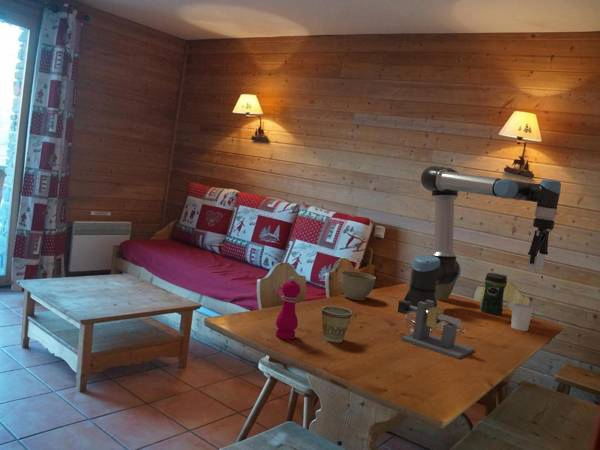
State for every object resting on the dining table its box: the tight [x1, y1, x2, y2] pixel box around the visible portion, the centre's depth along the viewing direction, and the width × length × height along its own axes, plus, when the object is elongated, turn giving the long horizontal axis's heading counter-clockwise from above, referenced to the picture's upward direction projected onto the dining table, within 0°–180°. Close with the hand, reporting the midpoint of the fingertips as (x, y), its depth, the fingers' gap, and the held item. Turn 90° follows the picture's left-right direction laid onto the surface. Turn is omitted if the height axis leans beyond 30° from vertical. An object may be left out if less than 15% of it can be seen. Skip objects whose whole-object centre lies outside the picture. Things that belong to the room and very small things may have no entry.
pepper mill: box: [275, 276, 301, 340], centre depth 172 cm, size 7×7×20 cm
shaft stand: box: [400, 300, 475, 359], centre depth 184 cm, size 21×14×14 cm, turn 51°
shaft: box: [397, 299, 462, 327], centre depth 187 cm, size 22×4×4 cm, turn 51°
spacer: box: [426, 306, 445, 329], centre depth 185 cm, size 3×6×6 cm, turn 141°
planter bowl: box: [340, 270, 377, 301], centre depth 242 cm, size 16×16×11 cm
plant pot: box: [435, 280, 457, 302], centre depth 264 cm, size 15×15×16 cm
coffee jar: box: [480, 272, 508, 316], centre depth 248 cm, size 10×8×19 cm
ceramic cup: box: [321, 305, 357, 343], centre depth 177 cm, size 13×10×10 cm
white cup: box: [510, 302, 534, 332], centre depth 224 cm, size 8×8×10 cm
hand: (534, 270), depth 213 cm, fingers open, 13 cm apart
